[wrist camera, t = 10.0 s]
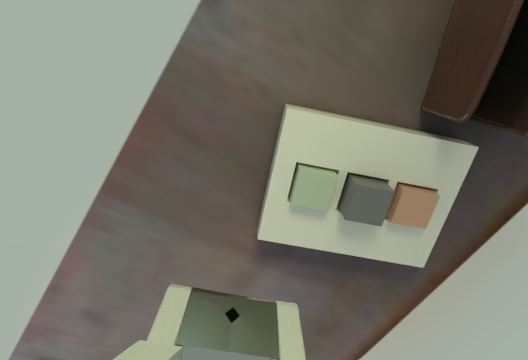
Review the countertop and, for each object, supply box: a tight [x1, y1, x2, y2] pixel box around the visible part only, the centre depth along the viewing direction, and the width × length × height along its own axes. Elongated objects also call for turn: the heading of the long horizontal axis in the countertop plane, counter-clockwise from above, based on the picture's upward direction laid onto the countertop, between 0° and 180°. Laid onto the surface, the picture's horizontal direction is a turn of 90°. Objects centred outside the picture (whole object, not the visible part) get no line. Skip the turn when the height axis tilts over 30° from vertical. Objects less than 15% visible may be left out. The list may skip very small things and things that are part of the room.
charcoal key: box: [338, 174, 395, 227], centre depth 34 cm, size 4×4×3 cm
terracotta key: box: [386, 182, 440, 229], centre depth 36 cm, size 4×4×3 cm
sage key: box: [289, 162, 338, 211], centre depth 35 cm, size 4×4×3 cm
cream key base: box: [257, 103, 479, 268], centre depth 36 cm, size 15×20×4 cm
